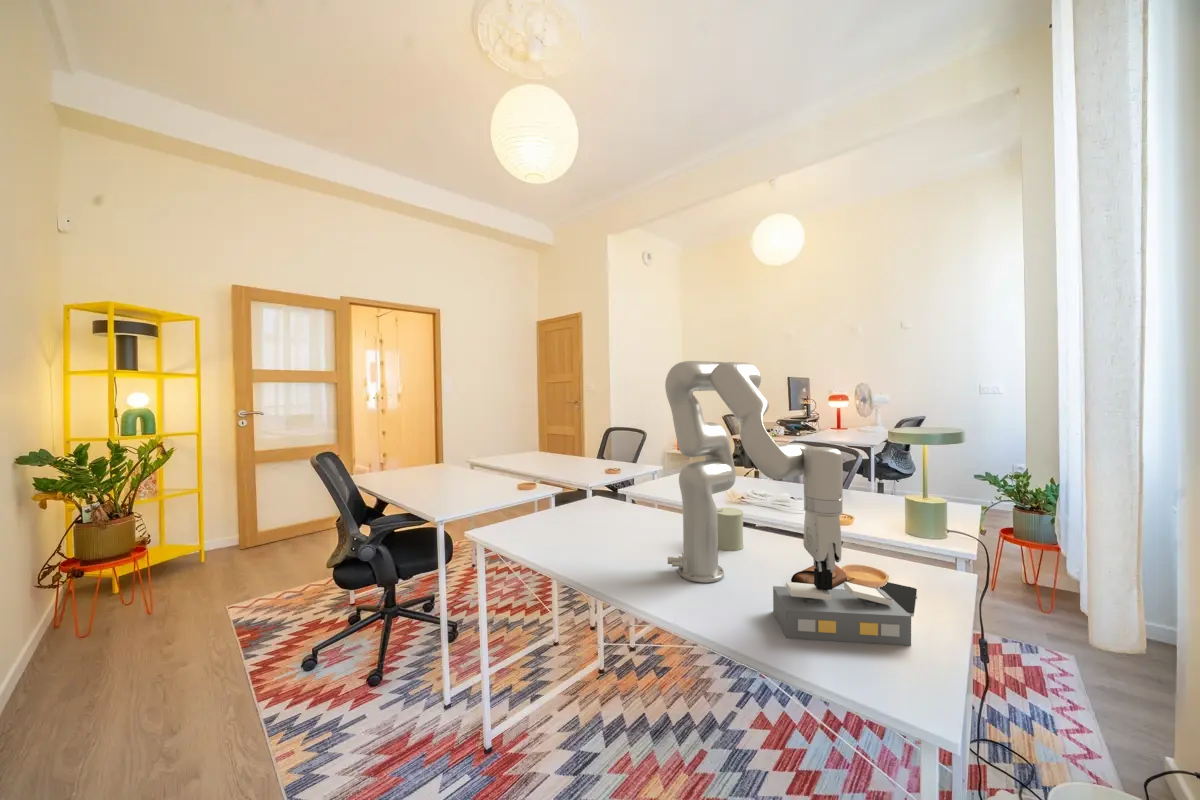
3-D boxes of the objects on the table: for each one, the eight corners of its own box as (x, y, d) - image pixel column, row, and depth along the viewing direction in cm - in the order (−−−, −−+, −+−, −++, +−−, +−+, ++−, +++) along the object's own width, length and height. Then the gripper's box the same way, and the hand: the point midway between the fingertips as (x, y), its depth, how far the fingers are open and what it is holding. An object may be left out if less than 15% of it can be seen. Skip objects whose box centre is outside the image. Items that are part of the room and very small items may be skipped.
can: (713, 540, 151) (712, 505, 151) (740, 541, 150) (740, 506, 150) (716, 550, 142) (716, 513, 142) (746, 551, 141) (745, 514, 140)
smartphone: (873, 603, 105) (880, 580, 117) (873, 608, 105) (880, 584, 117) (914, 614, 100) (917, 588, 112) (914, 619, 100) (917, 593, 112)
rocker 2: (851, 596, 93) (853, 589, 93) (843, 586, 98) (844, 580, 98) (891, 605, 92) (893, 599, 92) (881, 595, 97) (883, 589, 97)
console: (786, 638, 92) (786, 607, 92) (773, 611, 103) (773, 583, 103) (911, 646, 89) (911, 613, 89) (884, 617, 100) (884, 588, 100)
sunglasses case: (822, 596, 110) (809, 569, 112) (799, 601, 115) (787, 575, 117) (856, 577, 120) (843, 553, 123) (834, 582, 125) (822, 559, 128)
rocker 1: (791, 596, 95) (791, 589, 95) (786, 587, 100) (786, 580, 99) (831, 599, 94) (831, 593, 94) (823, 590, 98) (823, 584, 98)
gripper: (794, 495, 104) (794, 572, 104) (816, 514, 89) (816, 603, 89) (828, 496, 103) (828, 574, 103) (856, 515, 88) (856, 605, 88)
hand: (823, 587), depth 96 cm, fingers closed
